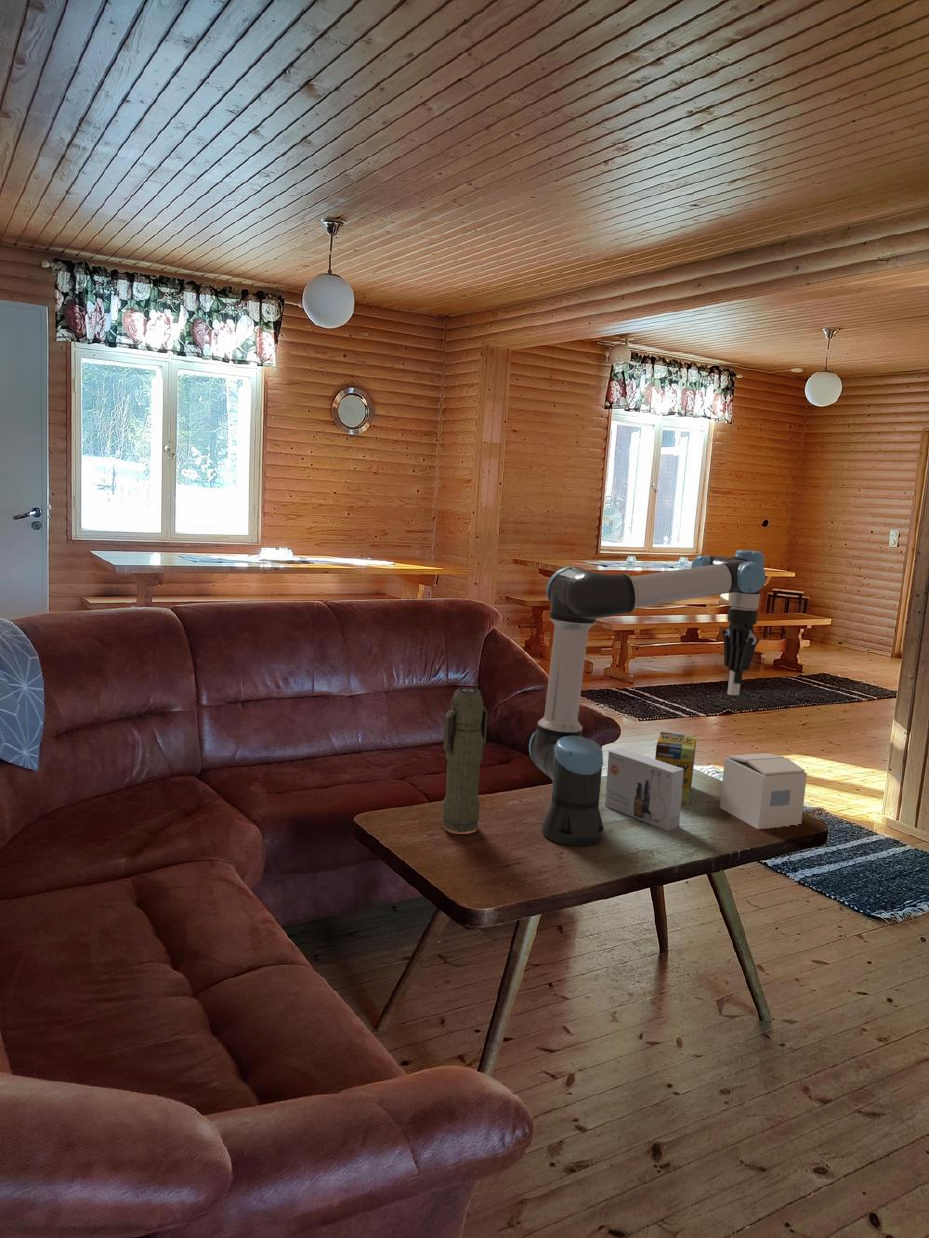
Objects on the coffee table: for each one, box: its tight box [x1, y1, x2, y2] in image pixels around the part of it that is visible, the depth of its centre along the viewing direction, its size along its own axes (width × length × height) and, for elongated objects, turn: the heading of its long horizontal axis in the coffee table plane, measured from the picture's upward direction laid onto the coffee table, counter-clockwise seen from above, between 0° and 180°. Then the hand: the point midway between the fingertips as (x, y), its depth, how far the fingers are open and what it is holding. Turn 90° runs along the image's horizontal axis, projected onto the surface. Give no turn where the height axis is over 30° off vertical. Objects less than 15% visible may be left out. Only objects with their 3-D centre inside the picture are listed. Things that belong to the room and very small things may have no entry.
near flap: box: [747, 757, 806, 775], centre depth 235 cm, size 13×7×1 cm, turn 111°
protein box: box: [654, 731, 697, 804], centre depth 256 cm, size 10×15×16 cm
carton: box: [719, 757, 808, 830], centre depth 240 cm, size 14×16×14 cm
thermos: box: [442, 687, 489, 832], centre depth 218 cm, size 9×12×35 cm
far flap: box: [727, 752, 785, 762], centre depth 243 cm, size 13×7×1 cm, turn 111°
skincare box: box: [604, 747, 684, 831], centre depth 235 cm, size 21×6×16 cm, turn 42°
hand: (733, 694), depth 242 cm, fingers closed
